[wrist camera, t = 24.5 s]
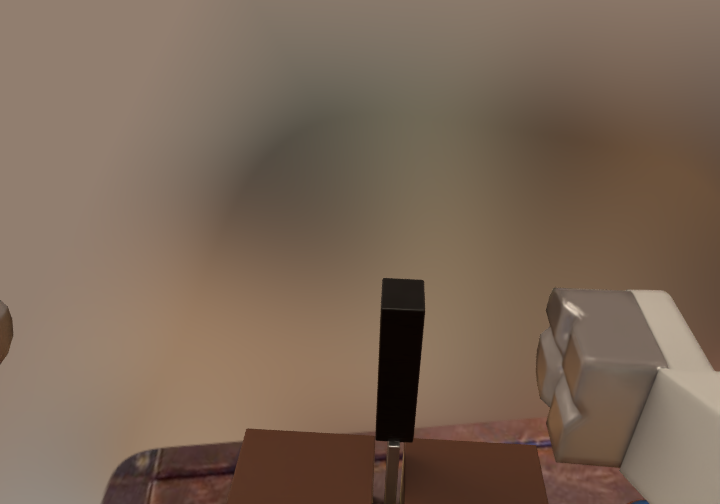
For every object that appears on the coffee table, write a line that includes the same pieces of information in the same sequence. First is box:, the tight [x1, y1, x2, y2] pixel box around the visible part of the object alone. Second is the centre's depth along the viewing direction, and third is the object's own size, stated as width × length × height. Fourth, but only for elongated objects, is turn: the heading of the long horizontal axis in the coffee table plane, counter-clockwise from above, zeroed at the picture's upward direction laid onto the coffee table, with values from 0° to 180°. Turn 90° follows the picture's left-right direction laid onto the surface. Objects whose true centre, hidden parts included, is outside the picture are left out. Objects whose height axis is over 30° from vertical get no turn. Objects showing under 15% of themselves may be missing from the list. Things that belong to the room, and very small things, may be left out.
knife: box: [375, 278, 425, 504], centre depth 35 cm, size 2×3×19 cm, turn 176°
